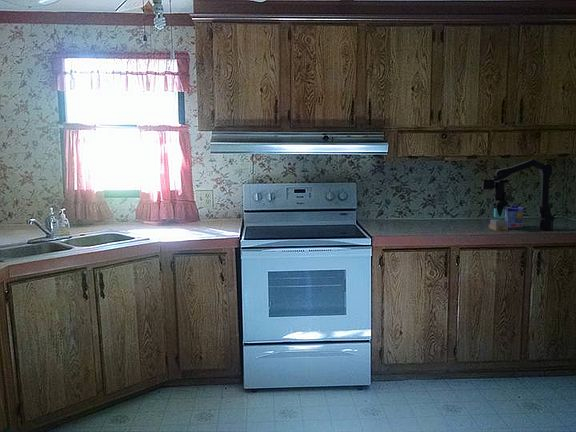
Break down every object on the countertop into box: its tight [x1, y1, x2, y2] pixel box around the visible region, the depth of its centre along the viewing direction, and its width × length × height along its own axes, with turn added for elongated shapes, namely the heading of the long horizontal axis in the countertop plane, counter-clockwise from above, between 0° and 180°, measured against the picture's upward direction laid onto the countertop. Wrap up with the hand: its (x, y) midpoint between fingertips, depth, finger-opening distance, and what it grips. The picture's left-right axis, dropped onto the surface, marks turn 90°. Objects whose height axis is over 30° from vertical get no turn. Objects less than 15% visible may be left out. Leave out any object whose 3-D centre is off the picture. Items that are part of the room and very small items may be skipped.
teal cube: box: [493, 207, 505, 219], centre depth 303 cm, size 5×5×5 cm
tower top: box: [489, 218, 507, 226], centre depth 304 cm, size 7×7×3 cm
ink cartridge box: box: [504, 203, 525, 228], centre depth 311 cm, size 10×6×14 cm, turn 86°
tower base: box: [488, 223, 509, 232], centre depth 304 cm, size 8×8×3 cm
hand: (498, 215), depth 303 cm, fingers closed on teal cube, 5 cm apart
